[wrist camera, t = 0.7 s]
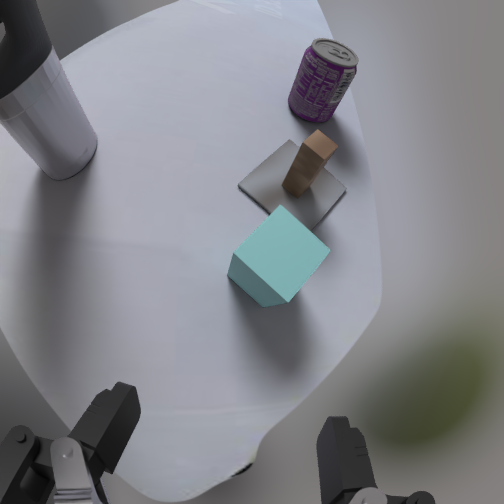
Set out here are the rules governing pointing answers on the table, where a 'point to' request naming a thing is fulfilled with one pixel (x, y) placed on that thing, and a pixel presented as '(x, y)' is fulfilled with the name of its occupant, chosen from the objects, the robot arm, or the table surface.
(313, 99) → the beverage can
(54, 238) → the table surface
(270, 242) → the tall teal block
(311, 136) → the post
